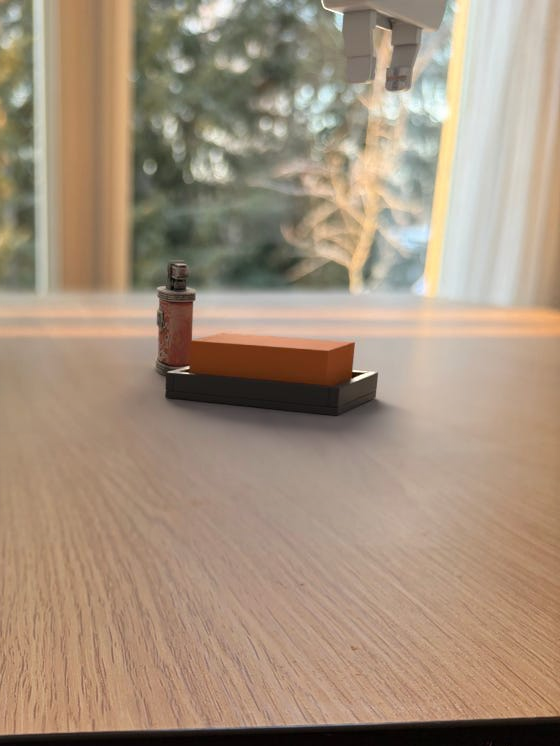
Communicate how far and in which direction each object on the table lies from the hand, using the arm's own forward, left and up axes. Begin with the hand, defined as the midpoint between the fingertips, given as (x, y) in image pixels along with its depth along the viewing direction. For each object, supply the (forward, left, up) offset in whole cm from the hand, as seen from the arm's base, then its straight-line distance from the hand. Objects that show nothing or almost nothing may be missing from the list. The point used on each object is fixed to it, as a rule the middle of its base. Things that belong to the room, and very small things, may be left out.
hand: (379, 88), depth 85 cm
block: (+4, +10, -23) cm, 25 cm away
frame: (+4, +9, -24) cm, 26 cm away
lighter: (+18, 0, -24) cm, 30 cm away
